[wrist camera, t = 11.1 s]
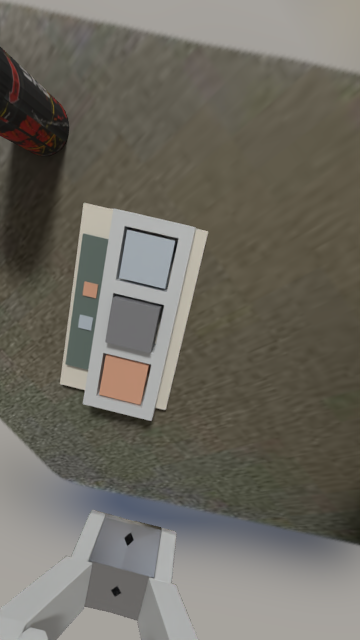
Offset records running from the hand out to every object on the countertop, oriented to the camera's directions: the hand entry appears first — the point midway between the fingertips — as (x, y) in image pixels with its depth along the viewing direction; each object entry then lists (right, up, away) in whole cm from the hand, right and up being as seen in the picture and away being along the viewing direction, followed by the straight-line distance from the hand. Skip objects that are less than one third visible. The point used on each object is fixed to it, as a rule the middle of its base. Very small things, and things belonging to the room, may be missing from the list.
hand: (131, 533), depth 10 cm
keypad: (-4, +8, +26) cm, 28 cm away
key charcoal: (-3, +7, +24) cm, 25 cm away
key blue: (-2, +14, +23) cm, 27 cm away
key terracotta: (-5, +1, +27) cm, 27 cm away
